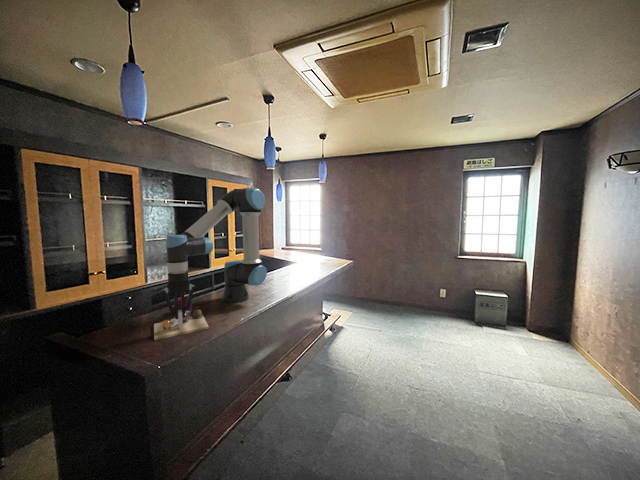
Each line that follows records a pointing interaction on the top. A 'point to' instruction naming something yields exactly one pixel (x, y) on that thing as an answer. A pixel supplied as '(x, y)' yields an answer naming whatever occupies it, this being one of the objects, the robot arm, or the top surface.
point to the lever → (174, 321)
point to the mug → (185, 304)
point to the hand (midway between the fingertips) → (180, 325)
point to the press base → (190, 325)
